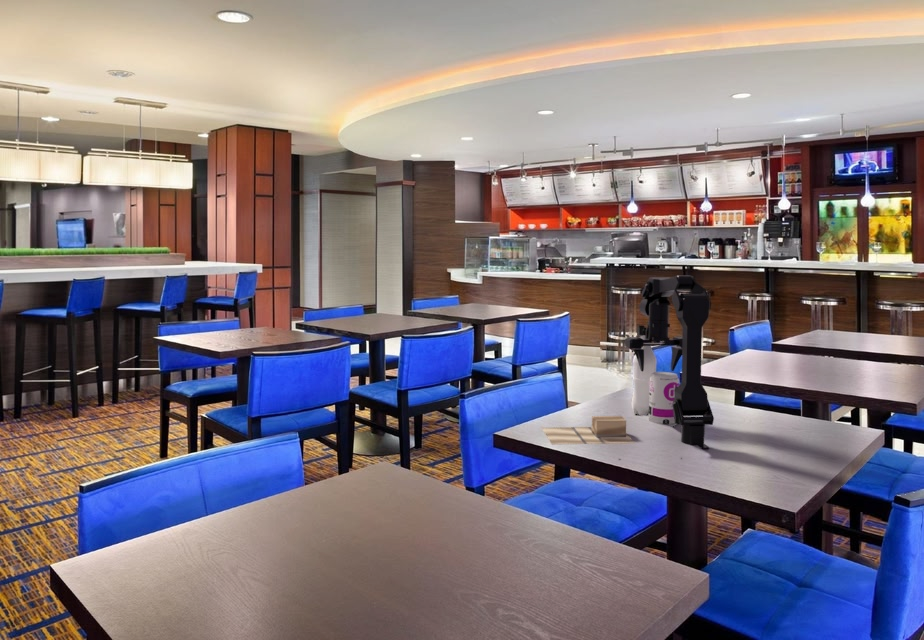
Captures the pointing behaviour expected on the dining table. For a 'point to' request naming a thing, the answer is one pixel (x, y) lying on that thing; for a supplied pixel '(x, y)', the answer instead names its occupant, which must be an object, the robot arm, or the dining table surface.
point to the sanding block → (608, 426)
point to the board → (580, 436)
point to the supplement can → (662, 397)
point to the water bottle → (643, 381)
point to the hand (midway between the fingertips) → (657, 371)
